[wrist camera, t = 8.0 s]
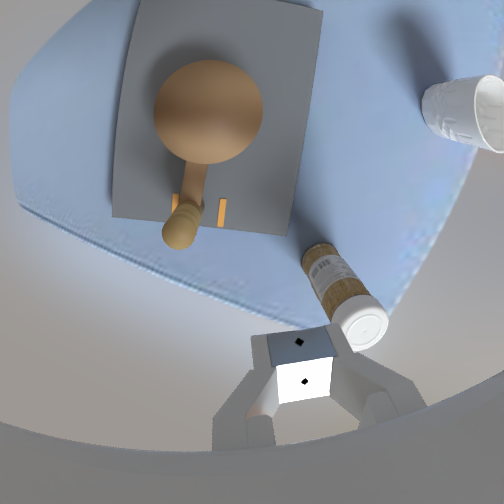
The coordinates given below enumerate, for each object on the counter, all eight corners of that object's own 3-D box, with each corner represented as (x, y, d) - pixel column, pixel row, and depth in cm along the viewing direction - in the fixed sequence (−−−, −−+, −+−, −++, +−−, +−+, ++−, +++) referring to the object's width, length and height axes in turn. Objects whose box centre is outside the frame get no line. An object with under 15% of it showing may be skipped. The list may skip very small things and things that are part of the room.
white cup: (450, 153, 29) (507, 168, 20) (407, 119, 28) (465, 122, 19) (468, 104, 27) (524, 108, 18) (428, 67, 25) (484, 58, 16)
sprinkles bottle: (310, 284, 35) (346, 361, 23) (294, 253, 33) (329, 326, 21) (344, 266, 34) (395, 335, 22) (330, 234, 33) (383, 296, 20)
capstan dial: (172, 61, 23) (151, 37, 15) (269, 77, 24) (283, 57, 16) (146, 210, 28) (118, 238, 21) (235, 226, 29) (237, 260, 22)
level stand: (147, 0, 21) (142, -7, 19) (317, 17, 23) (323, 10, 21) (118, 211, 30) (111, 217, 28) (283, 229, 32) (286, 236, 30)
